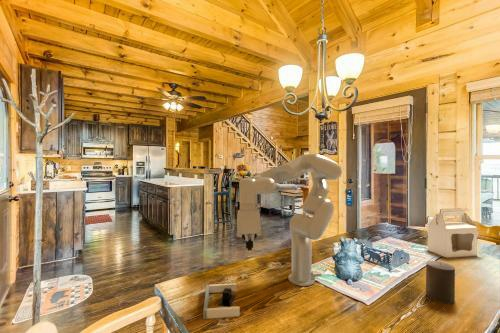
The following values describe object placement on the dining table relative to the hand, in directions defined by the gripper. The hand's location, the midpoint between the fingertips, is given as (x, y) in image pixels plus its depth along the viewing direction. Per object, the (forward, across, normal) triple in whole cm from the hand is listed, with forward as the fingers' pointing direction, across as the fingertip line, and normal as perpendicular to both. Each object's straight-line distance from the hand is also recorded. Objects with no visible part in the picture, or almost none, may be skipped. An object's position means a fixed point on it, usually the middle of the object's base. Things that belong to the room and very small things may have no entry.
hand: (249, 249), depth 106 cm
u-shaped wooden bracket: (+19, +12, +5) cm, 23 cm away
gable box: (+23, -132, -33) cm, 138 cm away
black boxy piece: (+20, +10, +3) cm, 23 cm away
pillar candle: (+22, -79, +12) cm, 83 cm away
